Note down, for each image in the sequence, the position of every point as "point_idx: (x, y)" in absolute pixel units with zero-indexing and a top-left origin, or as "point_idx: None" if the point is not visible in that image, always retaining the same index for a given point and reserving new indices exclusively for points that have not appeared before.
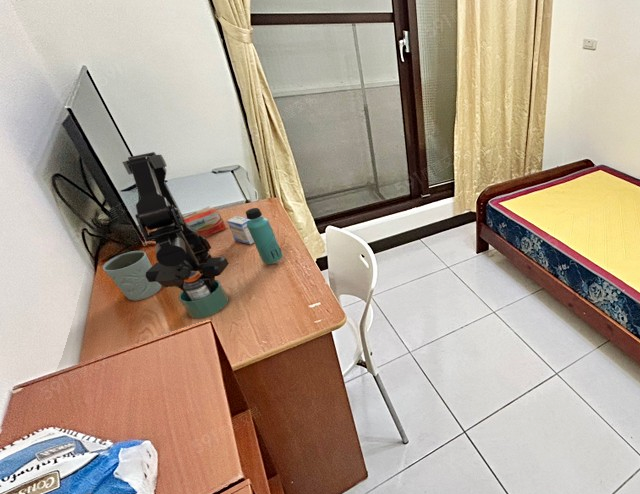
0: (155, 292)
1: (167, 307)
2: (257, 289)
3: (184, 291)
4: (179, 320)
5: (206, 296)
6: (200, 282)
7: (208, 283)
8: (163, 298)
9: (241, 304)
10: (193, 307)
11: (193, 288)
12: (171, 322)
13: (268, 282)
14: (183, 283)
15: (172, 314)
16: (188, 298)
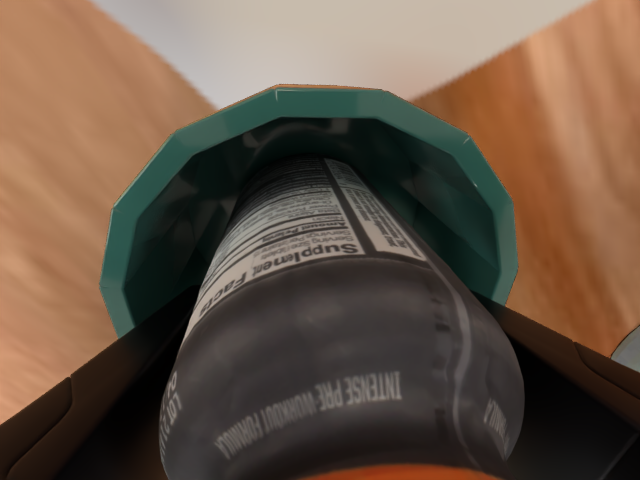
0: (632, 340)
1: (559, 232)
2: (63, 335)
3: (476, 295)
4: (453, 83)
5: (151, 191)
6: (176, 435)
7: (48, 403)
8: (589, 302)
9: (57, 205)
10: (317, 86)
11: (283, 293)
12: (505, 68)
13: (39, 383)
14: (519, 413)
15: (517, 162)
16: (440, 257)
